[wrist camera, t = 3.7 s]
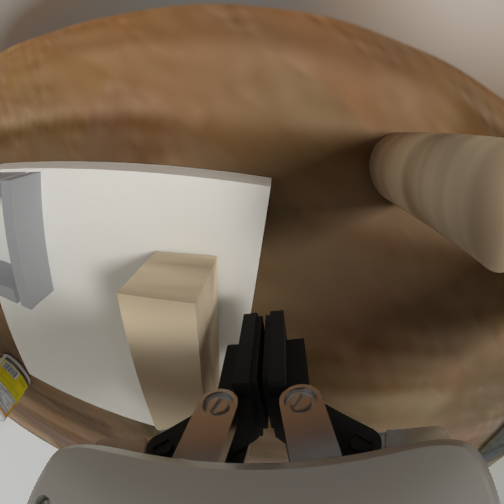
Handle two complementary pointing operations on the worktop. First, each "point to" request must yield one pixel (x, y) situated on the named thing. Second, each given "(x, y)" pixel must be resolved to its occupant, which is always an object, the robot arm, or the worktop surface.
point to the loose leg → (447, 187)
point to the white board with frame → (115, 261)
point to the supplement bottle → (11, 384)
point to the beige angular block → (173, 332)
